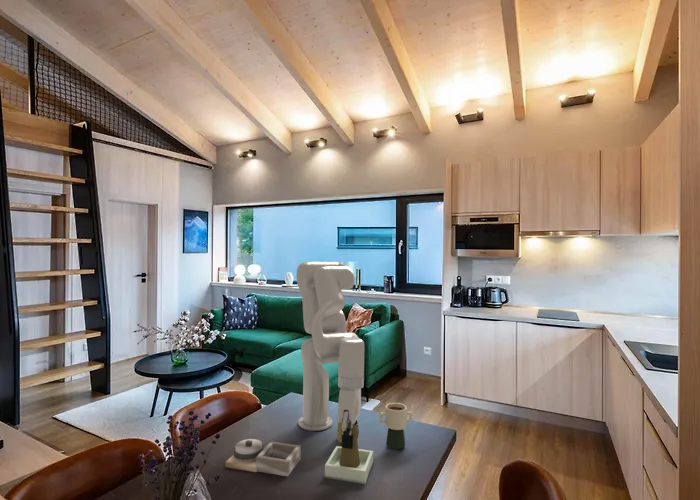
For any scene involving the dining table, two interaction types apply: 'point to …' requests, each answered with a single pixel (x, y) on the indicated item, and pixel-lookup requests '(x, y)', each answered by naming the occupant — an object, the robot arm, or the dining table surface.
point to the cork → (351, 451)
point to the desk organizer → (264, 457)
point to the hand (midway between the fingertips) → (350, 442)
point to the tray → (348, 473)
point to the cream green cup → (395, 424)
